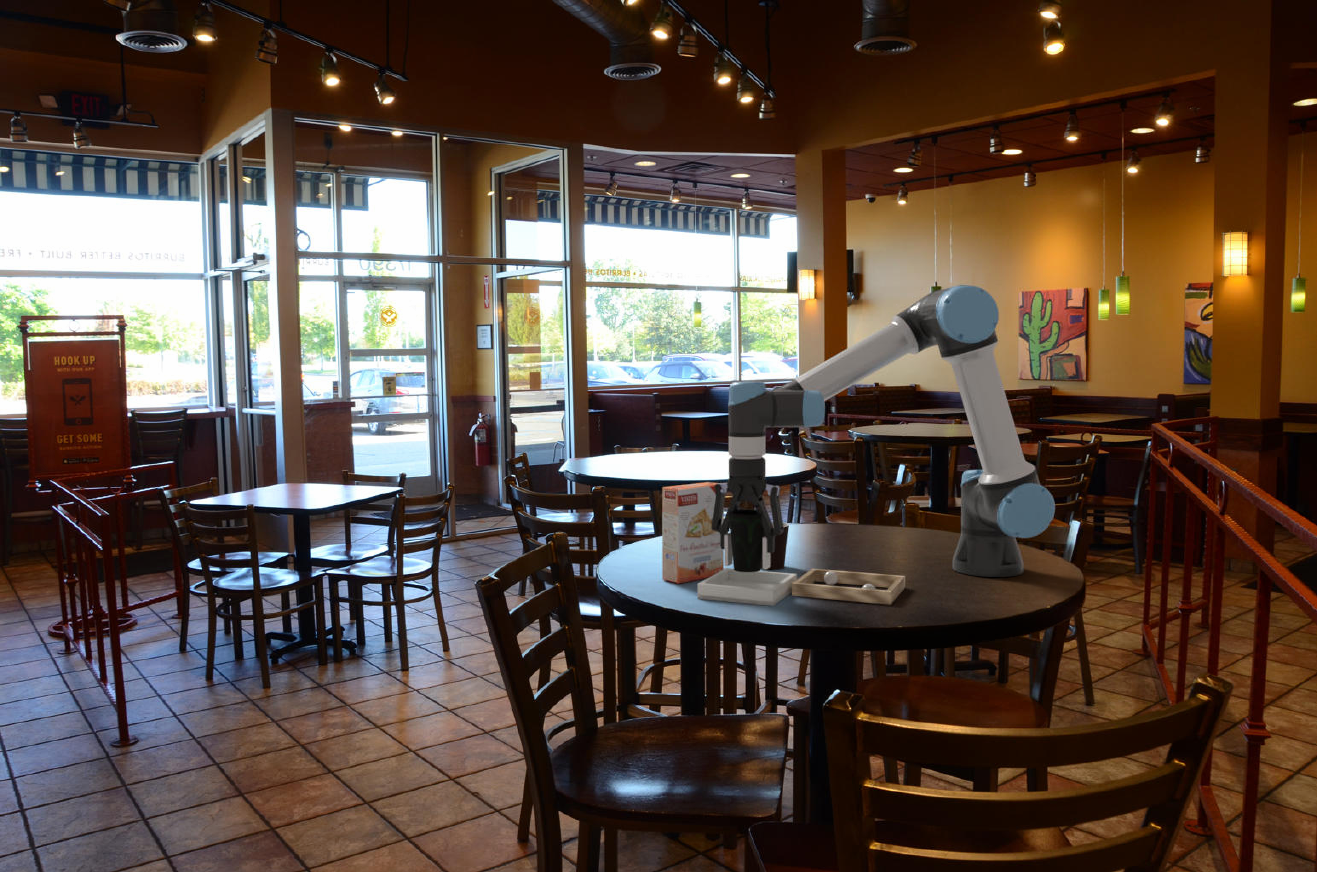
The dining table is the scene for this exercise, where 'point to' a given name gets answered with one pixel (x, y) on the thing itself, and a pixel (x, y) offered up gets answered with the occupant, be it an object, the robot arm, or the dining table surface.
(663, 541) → the cracker box
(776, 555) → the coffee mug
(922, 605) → the dining table surface
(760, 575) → the bin
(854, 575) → the frame
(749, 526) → the cup
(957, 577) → the dining table surface
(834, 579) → the pebble
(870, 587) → the pebble
